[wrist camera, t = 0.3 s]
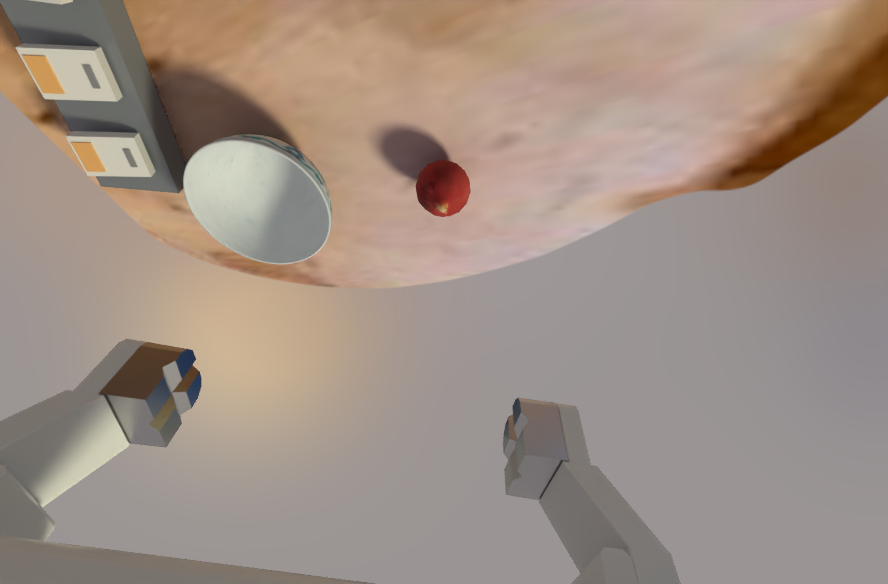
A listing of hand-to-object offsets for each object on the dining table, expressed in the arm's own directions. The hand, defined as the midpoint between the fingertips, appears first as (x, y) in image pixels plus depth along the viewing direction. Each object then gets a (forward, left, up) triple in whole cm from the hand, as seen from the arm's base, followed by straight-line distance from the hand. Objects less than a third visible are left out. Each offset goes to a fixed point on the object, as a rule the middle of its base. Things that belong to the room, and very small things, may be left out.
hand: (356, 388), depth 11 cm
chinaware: (+17, -18, -39) cm, 46 cm away
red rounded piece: (+15, +1, -39) cm, 42 cm away
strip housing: (+6, -34, -39) cm, 52 cm away
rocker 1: (+6, -34, -35) cm, 49 cm away
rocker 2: (+14, -34, -35) cm, 51 cm away
